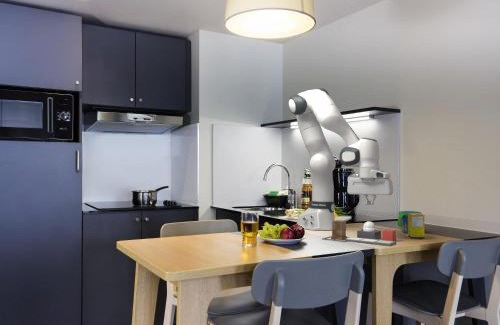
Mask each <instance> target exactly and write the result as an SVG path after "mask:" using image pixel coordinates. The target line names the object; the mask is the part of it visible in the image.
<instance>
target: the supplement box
mask: <svg viewBox="0 0 500 325" xmlns="http://www.w3.org/2000/svg"><path fill="white" fill-rule="evenodd" d="M421 213H422V212H421ZM421 213H408V233H407V237H408V238H409V237H410V238H409V239H420V240H421V239H423V240H424V239H425V214H424V213H422V214H421Z"/></svg>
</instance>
